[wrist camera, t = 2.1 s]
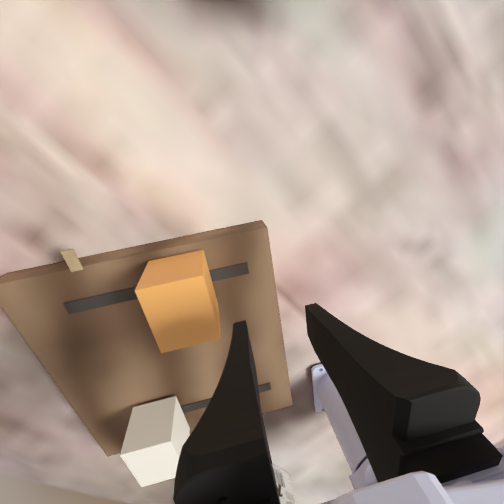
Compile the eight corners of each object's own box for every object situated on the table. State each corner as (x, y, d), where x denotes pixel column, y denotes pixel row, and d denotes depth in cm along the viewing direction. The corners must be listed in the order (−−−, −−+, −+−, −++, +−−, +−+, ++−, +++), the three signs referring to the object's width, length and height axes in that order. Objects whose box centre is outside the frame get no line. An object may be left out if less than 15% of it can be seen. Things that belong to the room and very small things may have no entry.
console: (259, 203, 20) (264, 210, 19) (287, 391, 30) (293, 408, 28) (-4, 256, 19) (-28, 269, 17) (115, 438, 28) (108, 459, 26)
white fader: (176, 395, 24) (170, 441, 20) (189, 427, 26) (187, 474, 22) (133, 407, 24) (120, 455, 20) (150, 438, 26) (141, 487, 22)
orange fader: (203, 249, 19) (203, 275, 15) (218, 304, 21) (220, 338, 17) (148, 261, 18) (134, 290, 15) (169, 315, 20) (161, 353, 17)
